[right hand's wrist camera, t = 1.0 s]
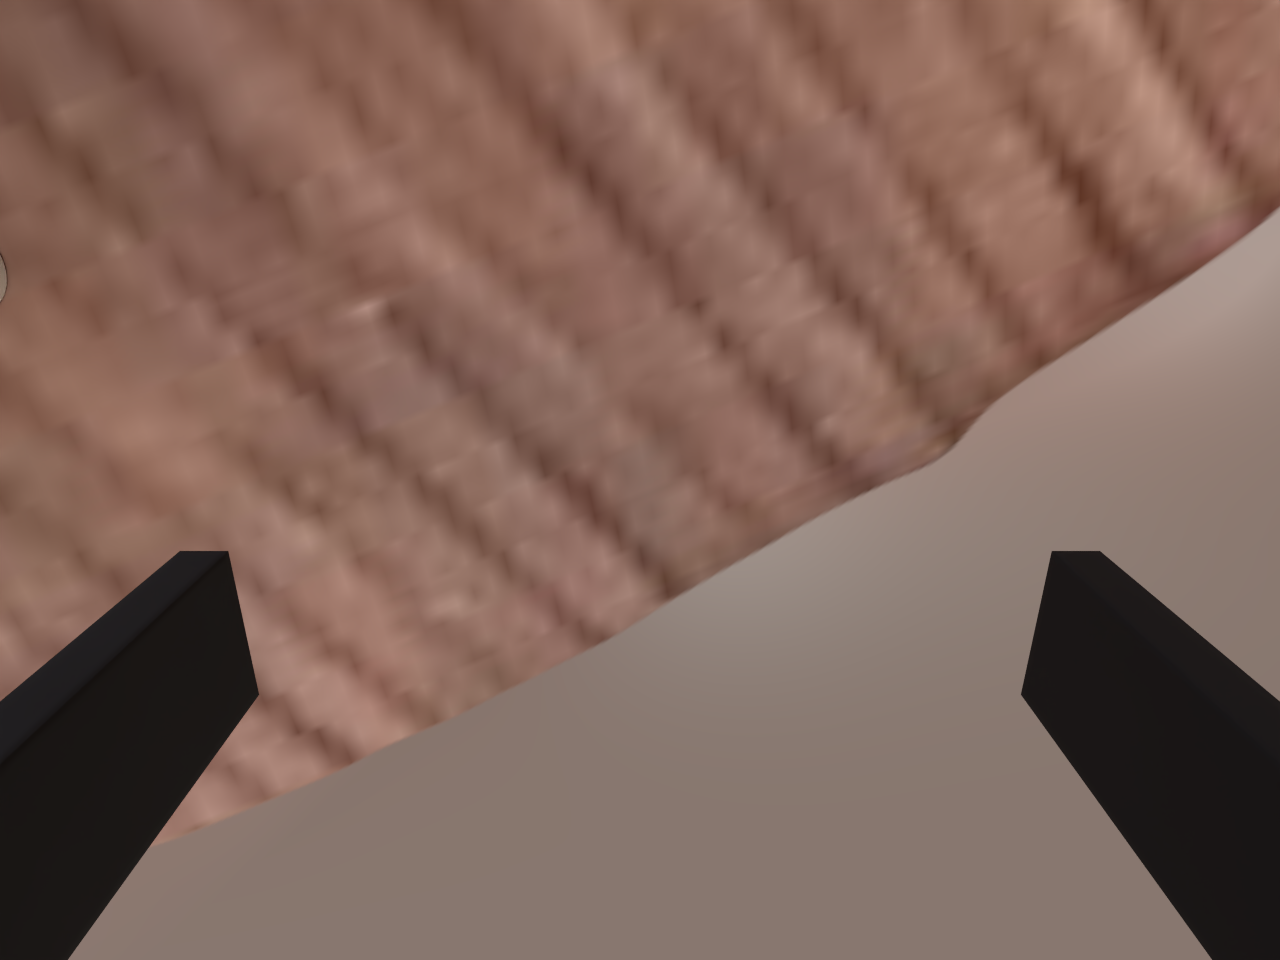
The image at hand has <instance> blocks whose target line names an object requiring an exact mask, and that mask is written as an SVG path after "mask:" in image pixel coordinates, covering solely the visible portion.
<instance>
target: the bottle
mask: <svg viewBox="0 0 1280 960" xmlns="http://www.w3.org/2000/svg"><path fill="white" fill-rule="evenodd" d="M6 286H7V274H6V269H5V265H4V262H3V259H2V257H1V255H0V302H1V300H2V298H3V296H4V294H5V291H6Z"/></svg>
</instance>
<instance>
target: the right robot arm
mask: <svg viewBox="0 0 1280 960" xmlns="http://www.w3.org/2000/svg"><path fill="white" fill-rule="evenodd" d="M258 695H259V692H258V688H257V683H256V678H255V674H254V669H253V664H252V660H251V655H250V651H249V646H248V641H247V637H246V632H245V627H244V623H243V618H242V613H241V609H240V604H239V599H238V595H237V590H236V585H235V581H234V576H233V571H232V567H231V562H230V558H229V553H228V551H180V552H178V553H177V554H176V555H175V556H174V557H172V558H171V559H170V560H169V561H168V562H166V563H165V564H164V565H163V566H162V567H161V568H159V569H158V570H157V571H156V572H155V573H153V574H152V575H151V576H150V577H149V578H147V579H146V580H145V581H144V582H143V583H141V584H140V585H139V586H138V587H137V588H135V589H134V590H133V591H132V592H131V593H129V594H128V595H127V596H126V597H125V598H123V599H122V600H121V601H120V602H119V603H117V604H116V605H115V606H114V607H113V608H112V609H110V610H109V611H108V612H107V613H106V614H104V615H103V616H102V617H101V618H100V619H98V620H97V621H96V622H95V623H94V624H92V625H91V626H90V627H89V628H88V629H86V630H85V631H84V632H83V633H82V634H80V635H79V636H78V637H77V638H76V639H74V640H73V641H72V642H71V643H70V644H68V645H67V646H66V647H65V648H64V649H63V650H61V651H60V652H59V653H58V654H57V655H55V656H54V657H53V658H52V659H51V660H49V661H48V662H47V663H46V664H45V665H43V666H42V667H41V668H40V669H39V670H37V671H36V672H35V673H34V674H33V675H31V676H30V677H29V678H28V679H27V680H25V681H24V682H23V683H22V684H21V685H19V686H18V687H17V688H16V689H15V690H14V691H12V692H11V693H10V694H9V695H8V696H6V697H5V698H4V699H3V700H2V701H0V960H68V959H69V957H70V956H71V954H72V953H73V952H74V950H75V949H76V947H77V946H78V945H79V943H80V942H81V941H82V939H83V938H84V936H85V935H86V934H87V932H88V931H89V930H90V928H91V927H92V925H93V924H94V923H95V921H96V920H97V918H98V917H99V916H100V914H101V913H102V911H103V910H104V909H105V907H106V906H107V905H108V903H109V902H110V900H111V899H112V898H113V896H114V895H115V893H116V892H117V891H118V889H119V888H120V887H121V885H122V884H123V882H124V881H125V880H126V878H127V877H128V875H129V874H130V873H131V871H132V870H133V868H134V867H135V866H136V864H137V863H138V862H139V860H140V859H141V857H142V856H143V855H144V853H145V852H146V850H147V849H148V848H149V846H150V845H151V844H152V842H153V841H154V839H155V838H156V837H157V835H158V834H159V832H160V831H161V830H162V828H163V827H164V826H165V824H166V823H167V821H168V820H169V819H170V817H171V816H172V814H173V813H174V812H175V810H176V809H177V808H178V806H179V805H180V803H181V802H182V801H183V799H184V798H185V796H186V795H187V794H188V792H189V791H190V790H191V788H192V787H193V785H194V784H195V783H196V781H197V780H198V778H199V777H200V776H201V774H202V773H203V771H204V770H205V769H206V767H207V766H208V765H209V763H210V762H211V760H212V759H213V758H214V756H215V755H216V753H217V752H218V751H219V749H220V748H221V747H222V745H223V744H224V742H225V741H226V740H227V738H228V737H229V735H230V734H231V733H232V731H233V730H234V729H235V727H236V726H237V724H238V723H239V722H240V720H241V719H242V717H243V716H244V715H245V713H246V712H247V710H248V709H249V708H250V706H251V705H252V704H253V702H254V701H255V699H256V698H257V697H258ZM1021 695H1022V697H1023V698H1024V699H1025V701H1026V702H1027V704H1028V705H1029V706H1030V708H1031V709H1032V710H1033V712H1034V713H1035V715H1036V716H1037V717H1038V719H1039V720H1040V722H1041V723H1042V724H1043V726H1044V727H1045V729H1046V730H1047V731H1048V733H1049V734H1050V735H1051V737H1052V738H1053V740H1054V741H1055V742H1056V744H1057V745H1058V747H1059V748H1060V749H1061V751H1062V752H1063V753H1064V755H1065V756H1066V758H1067V759H1068V760H1069V762H1070V763H1071V765H1072V766H1073V767H1074V769H1075V770H1076V771H1077V773H1078V774H1079V776H1080V777H1081V778H1082V780H1083V781H1084V783H1085V784H1086V785H1087V787H1088V788H1089V790H1090V791H1091V792H1092V794H1093V795H1094V796H1095V798H1096V799H1097V801H1098V802H1099V803H1100V805H1101V806H1102V807H1103V809H1104V810H1105V812H1106V813H1107V814H1108V816H1109V817H1110V819H1111V820H1112V821H1113V823H1114V824H1115V826H1116V827H1117V828H1118V830H1119V831H1120V832H1121V834H1122V835H1123V837H1124V838H1125V839H1126V841H1127V842H1128V844H1129V845H1130V846H1131V848H1132V849H1133V851H1134V852H1135V853H1136V855H1137V856H1138V857H1139V859H1140V860H1141V862H1142V863H1143V864H1144V866H1145V867H1146V869H1147V870H1148V871H1149V873H1150V874H1151V875H1152V877H1153V878H1154V880H1155V881H1156V882H1157V884H1158V885H1159V887H1160V888H1161V889H1162V891H1163V892H1164V893H1165V895H1166V896H1167V898H1168V899H1169V900H1170V902H1171V903H1172V905H1173V906H1174V907H1175V909H1176V910H1177V911H1178V913H1179V914H1180V916H1181V917H1182V918H1183V920H1184V921H1185V923H1186V924H1187V925H1188V927H1189V928H1190V929H1191V931H1192V932H1193V934H1194V935H1195V936H1196V938H1197V939H1198V941H1199V942H1200V943H1201V945H1202V946H1203V947H1204V949H1205V950H1206V952H1207V953H1208V954H1209V956H1210V957H1211V959H1212V960H1280V701H1278V700H1277V699H1276V698H1275V697H1274V696H1272V695H1271V694H1270V693H1269V692H1268V691H1266V690H1265V689H1264V688H1263V687H1262V686H1261V685H1259V684H1258V683H1257V682H1256V681H1255V680H1253V679H1252V678H1251V677H1250V676H1249V675H1247V674H1246V673H1245V672H1244V671H1243V670H1241V669H1240V668H1239V667H1238V666H1237V665H1235V664H1234V663H1233V662H1232V661H1231V660H1229V659H1228V658H1227V657H1226V656H1225V655H1223V654H1222V653H1221V652H1220V651H1219V650H1217V649H1216V648H1215V647H1214V646H1213V645H1211V644H1210V643H1209V642H1208V641H1207V640H1206V639H1204V638H1203V637H1202V636H1201V635H1199V634H1198V633H1197V632H1196V631H1195V630H1194V629H1192V628H1191V627H1190V626H1189V625H1188V624H1186V623H1185V622H1184V621H1183V620H1182V619H1180V618H1179V617H1178V616H1177V615H1176V614H1174V613H1173V612H1172V611H1171V610H1170V609H1168V608H1167V607H1166V606H1165V605H1164V604H1162V603H1161V602H1160V601H1159V600H1158V599H1156V598H1155V597H1154V596H1153V595H1152V594H1151V593H1149V592H1148V591H1147V590H1146V589H1145V588H1143V587H1142V586H1141V585H1140V584H1139V583H1137V582H1136V581H1135V580H1134V579H1133V578H1131V577H1130V576H1129V575H1128V574H1127V573H1125V572H1124V571H1123V570H1122V569H1121V568H1119V567H1118V566H1117V565H1116V564H1115V563H1113V562H1112V561H1111V560H1110V559H1109V558H1108V557H1106V556H1105V555H1104V554H1103V553H1102V552H1100V551H1052V553H1051V558H1050V562H1049V567H1048V571H1047V576H1046V581H1045V585H1044V590H1043V595H1042V599H1041V604H1040V609H1039V613H1038V618H1037V623H1036V627H1035V632H1034V637H1033V641H1032V646H1031V651H1030V655H1029V660H1028V664H1027V669H1026V674H1025V679H1024V683H1023V688H1022V692H1021Z"/></svg>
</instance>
